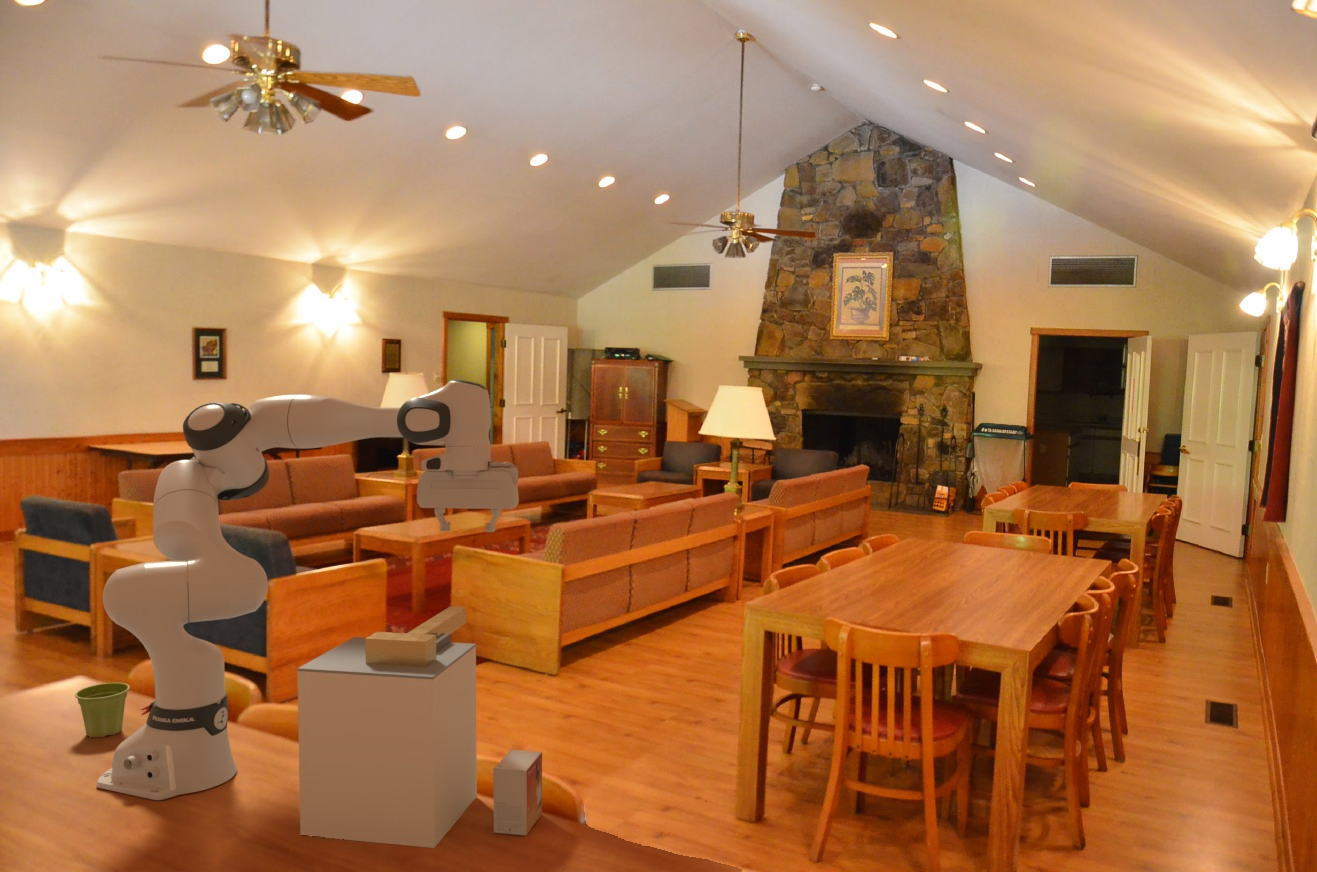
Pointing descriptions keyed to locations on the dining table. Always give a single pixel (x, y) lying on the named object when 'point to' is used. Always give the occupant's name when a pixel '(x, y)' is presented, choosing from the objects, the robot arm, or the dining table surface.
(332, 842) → the dining table surface
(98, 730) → the plant pot
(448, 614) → the wooden t-shaped block
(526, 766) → the small box
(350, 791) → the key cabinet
